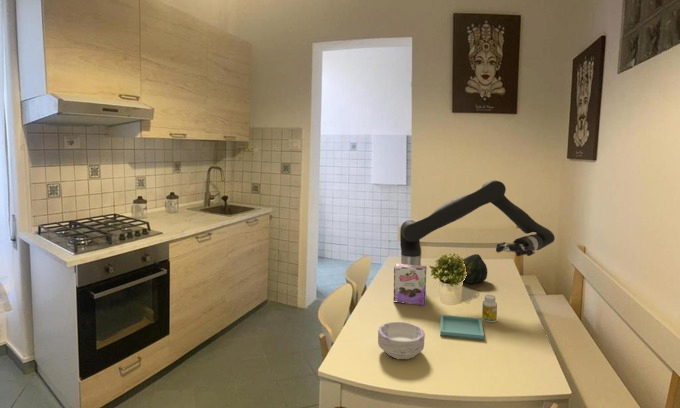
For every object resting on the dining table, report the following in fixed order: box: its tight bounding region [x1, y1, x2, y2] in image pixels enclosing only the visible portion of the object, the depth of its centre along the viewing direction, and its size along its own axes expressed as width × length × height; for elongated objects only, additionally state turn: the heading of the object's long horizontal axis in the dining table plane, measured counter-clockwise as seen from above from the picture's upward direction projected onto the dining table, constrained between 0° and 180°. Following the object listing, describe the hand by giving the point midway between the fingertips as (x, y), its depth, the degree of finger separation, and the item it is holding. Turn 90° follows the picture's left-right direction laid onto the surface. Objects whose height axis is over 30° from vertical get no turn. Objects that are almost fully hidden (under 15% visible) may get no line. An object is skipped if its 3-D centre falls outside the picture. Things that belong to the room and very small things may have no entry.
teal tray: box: [439, 314, 485, 341], centre depth 153 cm, size 15×15×2 cm
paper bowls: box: [377, 320, 426, 360], centre depth 135 cm, size 15×15×8 cm
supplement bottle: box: [481, 294, 498, 323], centre depth 160 cm, size 5×5×10 cm
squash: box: [462, 253, 488, 284], centre depth 205 cm, size 14×15×15 cm
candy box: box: [393, 263, 428, 306], centre depth 179 cm, size 14×6×16 cm, turn 74°
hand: (507, 251), depth 167 cm, fingers open, 8 cm apart
